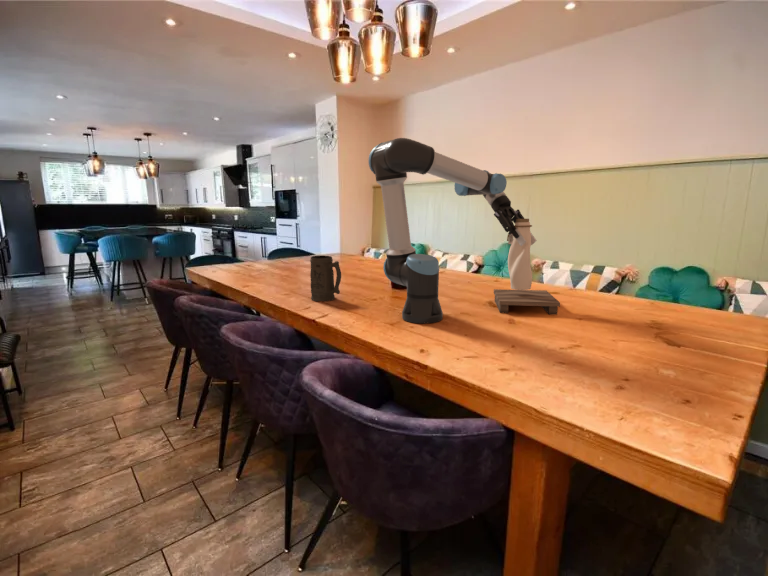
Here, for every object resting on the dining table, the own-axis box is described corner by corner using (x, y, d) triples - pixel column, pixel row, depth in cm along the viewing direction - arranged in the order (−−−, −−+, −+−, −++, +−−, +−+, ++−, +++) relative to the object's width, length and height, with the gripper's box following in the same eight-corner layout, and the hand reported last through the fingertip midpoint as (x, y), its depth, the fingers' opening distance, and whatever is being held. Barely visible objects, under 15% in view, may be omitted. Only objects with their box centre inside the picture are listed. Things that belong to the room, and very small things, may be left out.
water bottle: (504, 289, 156) (506, 219, 151) (506, 285, 165) (508, 219, 160) (531, 290, 153) (534, 218, 148) (532, 286, 161) (534, 218, 156)
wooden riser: (559, 315, 147) (560, 302, 146) (499, 313, 150) (499, 301, 149) (545, 301, 168) (546, 290, 167) (493, 300, 172) (493, 289, 170)
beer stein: (305, 300, 175) (305, 256, 170) (316, 295, 185) (316, 253, 180) (336, 305, 170) (338, 260, 166) (346, 299, 180) (347, 257, 176)
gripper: (507, 207, 170) (537, 247, 160) (477, 207, 160) (507, 251, 150) (518, 194, 164) (549, 235, 154) (488, 194, 155) (519, 238, 145)
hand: (528, 243), depth 152 cm, fingers closed on water bottle, 5 cm apart
